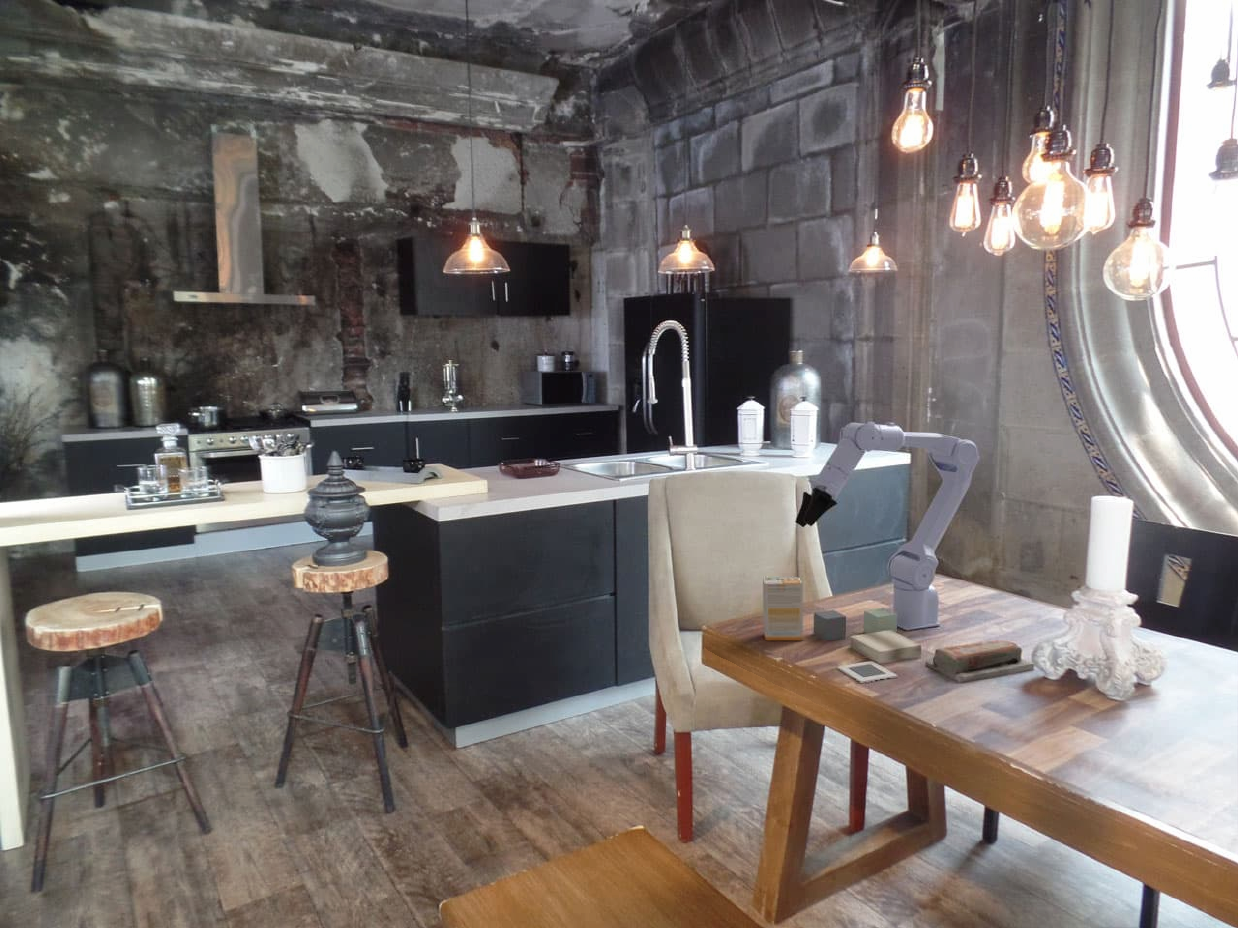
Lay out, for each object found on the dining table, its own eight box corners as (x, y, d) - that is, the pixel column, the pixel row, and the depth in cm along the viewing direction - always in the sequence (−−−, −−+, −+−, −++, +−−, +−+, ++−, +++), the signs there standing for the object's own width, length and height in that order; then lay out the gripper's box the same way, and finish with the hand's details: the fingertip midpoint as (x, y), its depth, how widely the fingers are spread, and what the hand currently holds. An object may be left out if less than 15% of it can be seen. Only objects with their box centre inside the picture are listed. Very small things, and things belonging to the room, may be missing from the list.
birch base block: (890, 643, 180) (890, 629, 180) (920, 659, 171) (921, 644, 170) (850, 649, 177) (850, 636, 177) (879, 666, 168) (879, 651, 167)
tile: (871, 662, 168) (872, 660, 168) (896, 677, 161) (897, 674, 161) (837, 668, 166) (837, 665, 166) (861, 683, 158) (861, 680, 158)
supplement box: (800, 633, 186) (800, 576, 184) (802, 641, 182) (803, 582, 180) (762, 633, 187) (762, 576, 185) (764, 640, 182) (764, 582, 181)
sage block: (882, 629, 188) (883, 607, 188) (896, 636, 184) (897, 614, 183) (863, 631, 187) (864, 610, 186) (877, 639, 182) (877, 616, 181)
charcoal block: (833, 631, 188) (833, 609, 187) (845, 638, 183) (846, 616, 182) (813, 633, 186) (813, 612, 185) (825, 641, 181) (826, 619, 181)
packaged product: (960, 660, 157) (925, 643, 166) (960, 685, 157) (924, 667, 167) (1036, 647, 162) (997, 632, 172) (1035, 671, 163) (997, 654, 172)
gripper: (813, 464, 187) (781, 514, 186) (829, 457, 173) (794, 512, 172) (840, 481, 187) (807, 532, 186) (858, 476, 173) (823, 531, 172)
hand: (803, 524), depth 179 cm, fingers open, 7 cm apart
